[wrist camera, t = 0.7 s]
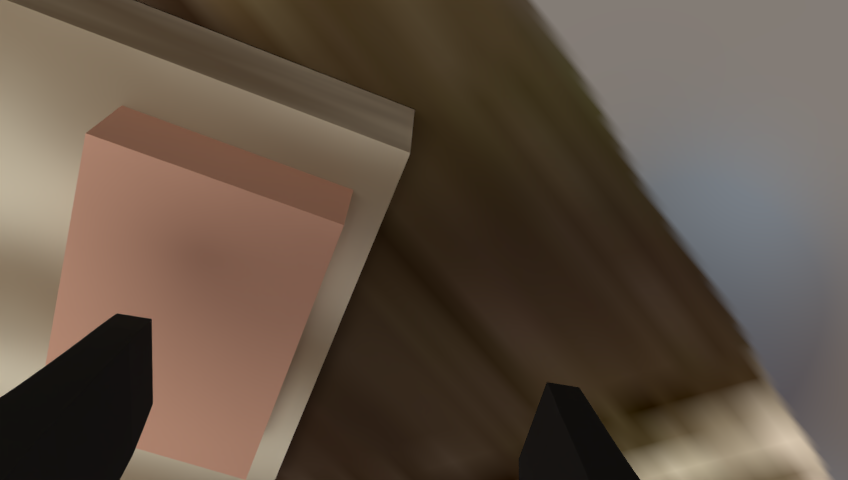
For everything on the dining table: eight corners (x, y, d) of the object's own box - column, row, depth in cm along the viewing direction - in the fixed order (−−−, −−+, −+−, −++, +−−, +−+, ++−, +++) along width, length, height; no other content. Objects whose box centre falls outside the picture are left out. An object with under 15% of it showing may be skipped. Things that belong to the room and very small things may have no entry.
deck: (268, 471, 28) (247, 546, 25) (-17, 388, 26) (-78, 458, 23) (414, 109, 21) (410, 153, 18) (35, -39, 19) (-43, -19, 16)
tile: (261, 431, 22) (245, 479, 20) (69, 373, 21) (35, 419, 19) (353, 189, 18) (344, 225, 16) (122, 105, 17) (85, 133, 15)
